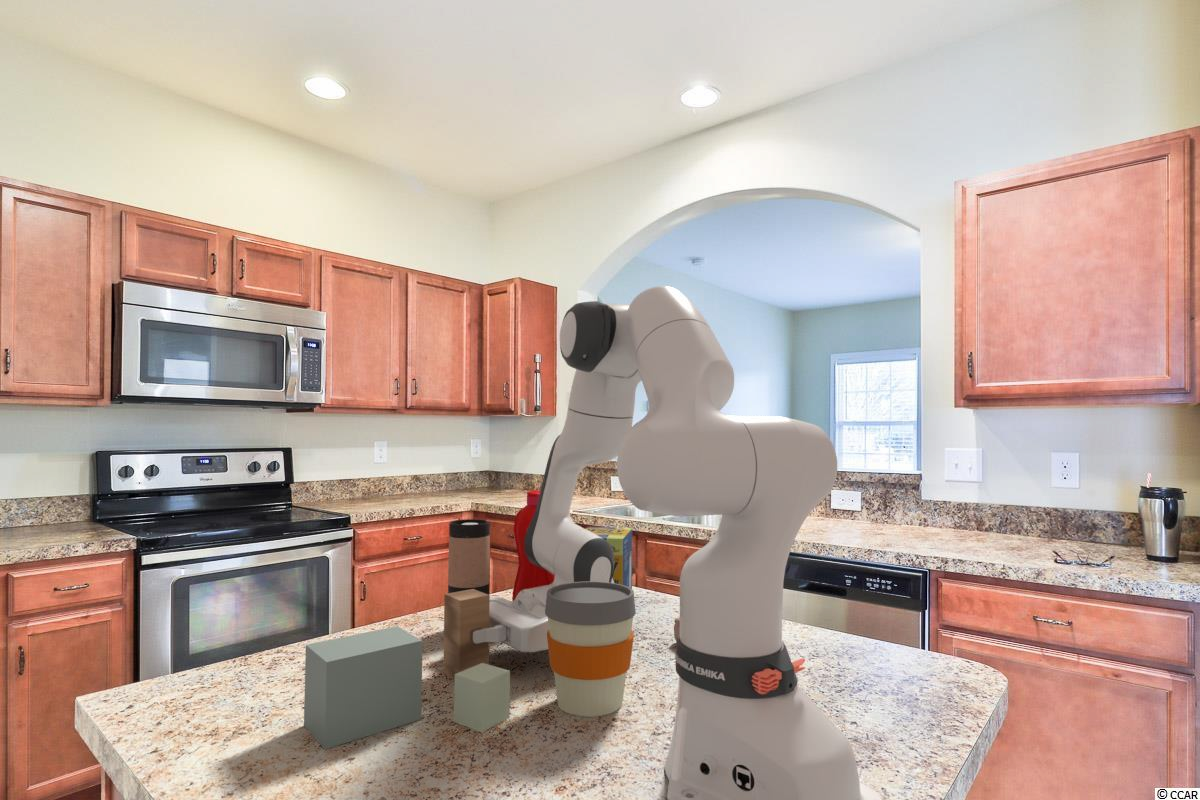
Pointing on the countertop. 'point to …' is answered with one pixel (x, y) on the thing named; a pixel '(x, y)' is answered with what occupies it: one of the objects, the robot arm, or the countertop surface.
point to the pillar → (464, 630)
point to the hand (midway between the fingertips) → (461, 631)
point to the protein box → (618, 551)
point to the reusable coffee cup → (590, 644)
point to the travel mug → (469, 555)
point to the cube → (481, 696)
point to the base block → (362, 685)
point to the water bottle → (527, 571)
